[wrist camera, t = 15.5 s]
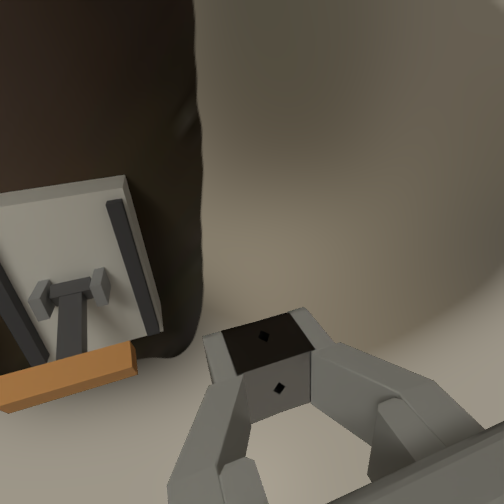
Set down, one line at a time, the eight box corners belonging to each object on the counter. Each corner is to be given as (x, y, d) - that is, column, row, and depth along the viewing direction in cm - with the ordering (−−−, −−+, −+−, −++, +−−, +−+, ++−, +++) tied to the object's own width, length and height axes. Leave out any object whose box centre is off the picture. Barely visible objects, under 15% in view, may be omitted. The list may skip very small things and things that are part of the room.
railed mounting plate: (-41, 225, 27) (-49, 231, 25) (122, 198, 30) (121, 202, 29) (35, 358, 34) (32, 368, 33) (159, 325, 37) (159, 332, 36)
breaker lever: (12, 292, 29) (-7, 407, 23) (122, 267, 32) (132, 367, 25) (23, 302, 31) (8, 413, 25) (127, 278, 33) (137, 374, 27)
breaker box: (-20, 196, 31) (-76, 230, 23) (124, 174, 35) (120, 197, 26) (49, 331, 40) (26, 391, 31) (160, 303, 43) (165, 350, 35)
